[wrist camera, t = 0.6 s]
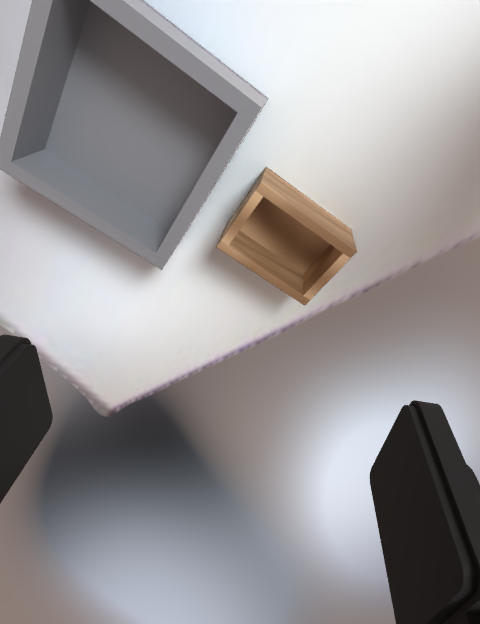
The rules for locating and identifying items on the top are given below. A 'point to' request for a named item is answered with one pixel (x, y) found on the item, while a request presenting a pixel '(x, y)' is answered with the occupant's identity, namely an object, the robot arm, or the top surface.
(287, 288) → the box
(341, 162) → the top surface
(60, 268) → the top surface
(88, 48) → the grey open box
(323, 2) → the top surface
